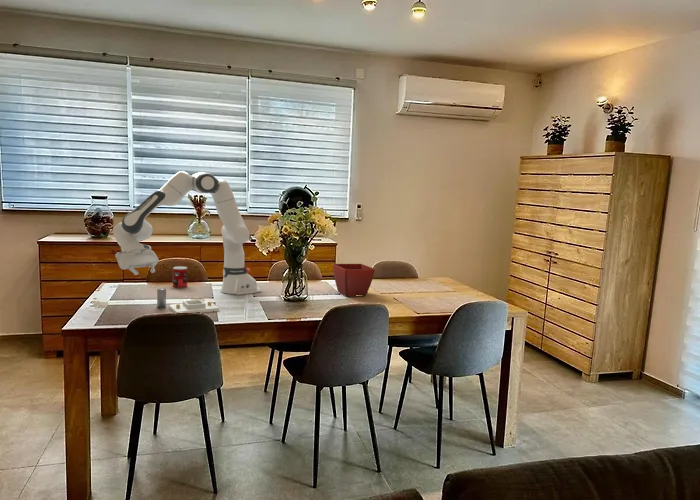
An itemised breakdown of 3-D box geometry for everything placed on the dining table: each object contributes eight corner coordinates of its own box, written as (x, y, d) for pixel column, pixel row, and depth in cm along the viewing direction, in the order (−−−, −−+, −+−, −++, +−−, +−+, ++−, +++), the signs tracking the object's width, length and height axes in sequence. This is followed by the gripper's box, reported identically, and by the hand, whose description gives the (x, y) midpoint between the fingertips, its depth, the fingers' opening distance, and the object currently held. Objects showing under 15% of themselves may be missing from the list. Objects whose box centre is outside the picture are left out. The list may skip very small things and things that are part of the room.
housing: (209, 304, 249) (210, 297, 248) (219, 310, 237) (219, 303, 237) (169, 307, 238) (169, 300, 237) (176, 315, 226) (176, 307, 226)
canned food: (171, 285, 285) (171, 266, 284) (185, 284, 289) (185, 266, 288) (174, 288, 279) (174, 268, 277) (188, 287, 283) (188, 268, 281)
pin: (164, 306, 240) (165, 288, 239) (166, 307, 237) (167, 289, 236) (156, 306, 238) (156, 288, 237) (158, 308, 235) (158, 290, 234)
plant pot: (359, 290, 303) (360, 263, 300) (373, 297, 286) (375, 268, 283) (330, 291, 294) (332, 263, 292) (344, 298, 277) (345, 269, 275)
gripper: (116, 248, 235) (129, 271, 232) (153, 245, 253) (165, 267, 249) (110, 256, 238) (123, 279, 234) (147, 253, 255) (159, 274, 252)
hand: (145, 273), depth 242 cm, fingers open, 8 cm apart
